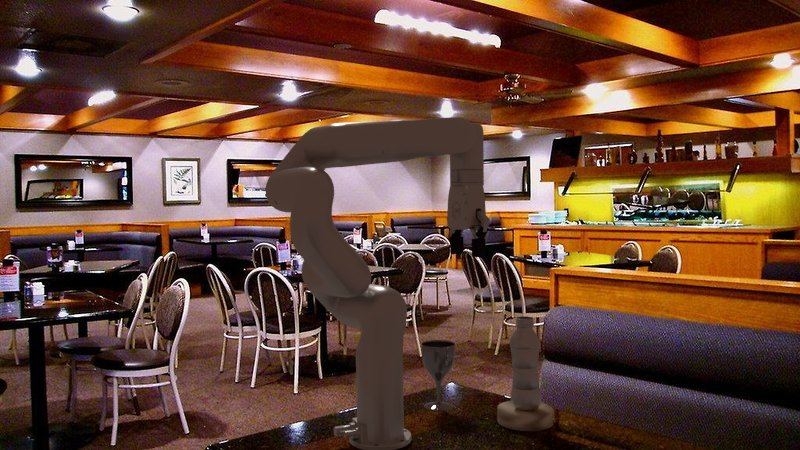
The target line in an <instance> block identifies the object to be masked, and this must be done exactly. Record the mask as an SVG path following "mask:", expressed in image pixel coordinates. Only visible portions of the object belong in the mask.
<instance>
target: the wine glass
mask: <svg viewBox="0 0 800 450" xmlns="http://www.w3.org/2000/svg"><path fill="white" fill-rule="evenodd" d="M420 349H421V359H422V363H423V366H424V369H425V370H426V372H428V374H429V375H430V376H431V378H433V381H434V382H435V388H436V401H431V402H427V403H425V404H424V405H423V408H424V409H426V410H428V411H433V412H446V411H451V410H453V409H454V408H455V406H454V405H453V404H452V403H450V402H446V401H441V400H442V399H441V389H442V383H443V380H444V378H445V377H446V376H447V375H448V374H449V372H450V371H451V370H452V368H453V366H454V362H455V358H456V357H455V356H456V343H455V342H454V341H451V340H445V339H444V340H443V339H431V340H426V341H423V342H421V348H420Z"/></svg>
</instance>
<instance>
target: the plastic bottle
mask: <svg viewBox="0 0 800 450" xmlns="http://www.w3.org/2000/svg"><path fill="white" fill-rule="evenodd" d="M534 326H535V323H534V317H533V316H523V315H522V316H521V315H519V316H516V317H515V327H516V329H515V331H513V333H512V335H511V337H510V338H509V347H510V353H511V360H512V362H511V363H512V384H511V390H510V401H511V402H512V404H513V406H514V407H515V408H517V409H521V410H534V409H537V408H539V406H540V405H541V402H542V399H543V397H542V392H541V388H540V380H539V357H540V356H539V355H540V346H541V341H540V338H539V336H538V334H537V333H536V331H535V330H534V328H533V327H534Z"/></svg>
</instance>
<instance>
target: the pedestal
mask: <svg viewBox="0 0 800 450" xmlns="http://www.w3.org/2000/svg"><path fill="white" fill-rule="evenodd" d="M496 409H497V423H498V424H499V425H500V426H502V427H504V428H506V429H510V430H514V431H519V432H539V431H545V430H548V429H550V428H551V427H553V426H554V408H553V407H552V406H551V405H549V404H547V403H544V402H542V401H541V405H540V406H539V408H537V409H534V410H521V409H517V408H515V407H514V406H513V404H512V402H511V400H507V401H503V402H500V403H499V404H498V405H497V408H496Z"/></svg>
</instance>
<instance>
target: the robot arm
mask: <svg viewBox="0 0 800 450" xmlns="http://www.w3.org/2000/svg"><path fill="white" fill-rule="evenodd" d="M484 151H485V150H484V127H483V126H482V124H481V123H478V122H471V121H470V120H468V119H467V118H465V117H461V116H454V117H452V116H451V117H438V118H421V119H391V120H390V119H389V120H388V119H386V120H373V121H372V120H371V121H370V120H369V121H353V122H334V123H330V124H326V125H325V124H324V125H321V126H314V127H312V128H311V129H308V130H307V131H306V132H305V133H304V134H303V135H302V136H301V137H300V138H299V139H298V140H297V142H296V143H295V144H294V145H293V146H292V148H290V150H289V151H288V152H287V154H286V155H285V156H284V158H283V159H281V161H280V162H279V164H278V165H277V166H276V167H275V168H274V169H273V170H272V172H271V173H270V175H269V177H268V179H267V181H266V184H265V197H266V199H267V201H268V203H269V205H271V207H273V208H274V209H275V210H277V211H279V212H283V213H290V216H289V217H290V220H289V226H290V227H289V230H290V231H289V232H290V239H291V242H292V245H293V248H294V249H295V251H296V252H297V253H298V255H299V256H300V257H301V258H302V260H303V262H302V266H301V277H302V281H303V283H304V285H305V287H306V288H307V291H308V292H310V294H311V295H313V297H314V298H315V299H316V300H317V301H319V303H320V304H321V305H322V306H323V307H324V308H325V309H326V310H327V311H328V312H329V313H330V314H331V315H332V316H333V318H335V319H336V320H337V321H338V322H339V323H341V324H343V325H345V326H348V327H351V328H355V329H359V330H361V332H360V333H361V334H360V337H359V340H358V342H357V345H356V349H355V350H356V351H355V377H356V378H355V380H356V381H355V384H356V387H355V389H356V393H355V394H356V417H352V422H349V423H348V424H346V425H344V424H343V425H337V426H336V425H335V426H334V427H333V435H334V437H341V436H343V438H344V439H348V438H349V443H350V445H352V446H353V447H354V448H357V449H359V450H398V449H402V448H404V447H407V446H408V445H409V444H410V443H411V441H412V433H411V431H409V430H408V429H406V428H405V425H404V421H405V420H404V417H405V415H404V359H403V356H404V355H403V353H404V352H403V351H404V348H403V347H404V335H405V328H406V323H407V317H408V306H407V302H406V300H405V298H404V297H403V295H402V294H401V293H400V292H399V291H398V290H396V289H395V288H392V287H390V286H386V285H380V284H375V283H372V274H371V271H370V267H369V265H368V264H367V262H366V261H365V259H364V258H363V257H362V256H361V255H360V254H359V253H358V252H357V251H356V250H355V249H354V248H353V246H352V245H351V244H350V243H349V242H348V241H347V240H346V238H345V237H344V236H343V235H342V234H341V232H340V231H339V230H338V228H337V227H336V225H335V224H334V223H335V222H334V219H333V205H334V204H333V203H334V199H335V186H334V183H333V182H334V181H333V179H332V178H331V176H330V174H329V173H327V171H325V170H326V169H332V168H333V169H334V168H346V167H347V168H349V167H358V166H367V165H375V164H376V165H377V164H387V163H388V164H389V163H397V162H405V161H410V160H415V159H419V158H427V157H436V156H445V155H449V189H448V190H449V191H448V196H447V197H448V198H447V210H446V211H447V213H446V215H447V216H446V222H447V223H446V225H447V230H448V234H449V235H448V236H449V240H450V243H449V248H450V249H449V253H450V255H463V254H464V247H465V246H464V236H462V235H463V233H464V231H468V230H469V231H470V233H471V236H472V238H471V257H472V258H484V257H485V258H486V254H487V253H486V251H487V250H486V249H487V248H486V246H487V245H486V243H487V242H486V239H487V238H488V235H487V234H488V232H489V225H490V222H491V219H490V218H489V216H487V215H486V213H487V212H486V211H487V210H486V195H485V189H484V185H485V182H484V181H485V175H484V174H485V173H484V170H485V167H484V162H485V160H484V157H485V156H484Z"/></svg>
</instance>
